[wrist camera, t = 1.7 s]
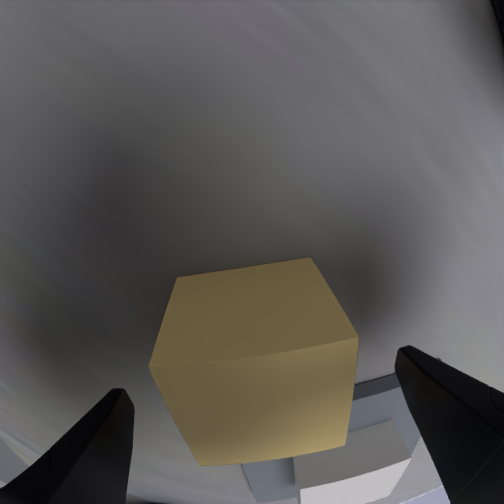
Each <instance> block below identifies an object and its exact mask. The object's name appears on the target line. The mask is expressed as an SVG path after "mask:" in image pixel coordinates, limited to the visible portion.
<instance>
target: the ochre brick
mask: <svg viewBox="0 0 504 504" xmlns="http://www.w3.org/2000/svg"><path fill="white" fill-rule="evenodd" d="M358 344H359V336H358V334H357V332H356V331H355V329H354V327H353V326H352V324H351V322H350V321H349V319H348V317H347V315H346V314H345V312H344V310H343V309H342V307H341V305H340V304H339V302H338V300H337V299H336V297H335V296H334V294H333V292H332V291H331V289H330V287H329V286H328V284H327V282H326V281H325V279H324V278H323V276H322V274H321V273H320V271H319V270H318V268H317V266H316V265H315V263H314V262H313V260H312V258H311V257H309V258H303V259H296V260H290V261H283V262H277V263H270V264H264V265H257V266H250V267H244V268H237V269H230V270H224V271H217V272H210V273H203V274H196V275H189V276H182V277H177V279H176V282H175V285H174V288H173V291H172V294H171V297H170V300H169V303H168V306H167V309H166V312H165V315H164V318H163V321H162V324H161V327H160V330H159V334H158V337H157V340H156V343H155V347H154V350H153V353H152V357H151V360H150V363H149V370H150V372H151V374H152V376H153V378H154V381H155V383H156V385H157V387H158V389H159V391H160V393H161V395H162V397H163V399H164V402H165V404H166V406H167V408H168V409H169V411H170V413H171V415H172V417H173V419H174V421H175V423H176V425H177V427H178V429H179V430H180V432H181V434H182V436H183V438H184V440H185V441H186V443H187V445H188V447H189V448H190V450H191V452H192V454H193V455H194V457H195V459H196V460H197V462H198V464H199V465H200V466H213V465H229V464H241V463H251V462H260V461H268V460H275V459H281V458H288V457H294V456H299V455H304V454H310V453H314V452H319V451H324V450H328V449H332V448H337V447H341V446H345V443H346V437H347V431H348V425H349V419H350V413H351V406H352V399H353V391H354V383H355V374H356V365H357V355H358Z"/></svg>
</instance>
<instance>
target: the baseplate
mask: <svg viewBox="0 0 504 504" xmlns="http://www.w3.org/2000/svg"><path fill="white" fill-rule="evenodd" d="M438 360H440V361H441V359H438ZM392 419H393V420H394V422H395V424H396V426H397V428H398V430H399V432H400V434H401V436H402V438H403V440H404V442H405V444H406V446H407V449H408V451H409V453H410V455H411V454H412V452H413V450H414V448H415V446H416V444H417V442H418V440H419V438H420V436H421V434H420V432H419V430H418V428H417V425H416V423H415V421H414V419H413V417H412V415H411V413H410V411H409V409H408V406H407V403H406V401H405V398H404V395H403V392H402V389H401V387H400V384H399V381H398V378H397V376H396V374H393V375H390V376H386V377H383V378H379V379H376V380H372V381H369V382H365V383H361V384H357V385H354V391H353V399H352V406H351V413H350V419H349V425H348V431H347V433H348V432H352V431H356V430H359V429H363V428H367V427H370V426H373V425H377V424H380V423H383V422H386V421H389V420H392ZM241 464H242V466H243V469H244V472H245V474H246V477H247V479H248V482H249V484H250V487H251V489H252V492H253V494H254V497H255V499H256V501H257V502H266V501H274V500H282V499H288V498H295V497H297V493H296V488H295V480H294V467H293V457H288V458H281V459H275V460H268V461H260V462H251V463H241Z"/></svg>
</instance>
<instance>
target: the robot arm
mask: <svg viewBox="0 0 504 504" xmlns="http://www.w3.org/2000/svg"><path fill="white" fill-rule="evenodd" d="M491 2H492V5H493V8H494V11H495V14H496V17H497V21H498V24H499V28H500V31H501V35H502V39H503V43H504V0H491ZM395 373H396V376H397V378H398V381H399V384H400V387H401V389H402V392H403V395H404V398H405V401H406V403H407V406H408V409H409V411H410V413H411V415H412V417H413V419H414V421H415V423H416V425H417V428H418V430H419V432H420V434H421V436H422V438H423V440H424V443H425V445H426V447H427V449H428V451H429V453H430V456H431V458H432V460H433V462H434V465H435V467H436V469H437V472H438V474H439V476H440V479H441V481H442V483H443V486H444V488H445V491H446V493H447V495H448V498H449V500H450V503H451V504H504V393H503V392H501V391H499V390H497V389H495V388H493V387H489V386H488V385H487V384H485V383H483V382H481V381H479V380H477V379H475V378H473V377H471V376H469V375H467V374H465V373H463V372H461V371H459V370H457V369H455V368H453V367H451V366H449V365H448V364H446V363H444V362H442V361H440V360H438V359H436V358H434V357H432V356H430V355H428V354H426V353H424V352H422V351H420V350H419V349H417V348H415V347H413V346H410V345H408V346H404V347H401V348H399V349H398V351H397V356H396V361H395ZM134 412H135V409H134V405H133V403H132V401H131V399H130V397H129V396H128V394H127V392H126V390H125V389H123V388H114V389H112V390H110V391H109V392H108V393H107V394H106V395H105V396H104V397H103V398H102V399H101V400H100V401H99V402H98V403H97V404H96V405H95V406H94V407H93V408H92V409H91V410H90V411H88V412H87V413H86V414H85V415H84V416H83V417H82V418H81V419H80V420H79V421H78V422H77V423H76V424H75V425H74V426H73V427H72V428H71V429H70V430H69V431H68V432H67V433H66V434H64V435H63V436H62V437H61V438H60V439H59V440H58V441H57V442H56V443H55V444H54V445H53V446H52V447H51V448H50V450H48V451H47V452H46V453H44V454H43V455H42V456H41V457H40V458H39V459H38V460H37V461H36V462H35V463H34V464H32V465H31V466H30V467H29V468H27V469H26V470H25V471H24V472H22V473H21V474H20V475H19V476H17V477H16V478H15V479H13V480H12V481H11V482H9V483H8V484H7V485H5V486H4V487H2V488H1V489H0V504H125V501H126V492H127V484H128V477H129V470H130V463H131V456H132V449H133V430H134Z"/></svg>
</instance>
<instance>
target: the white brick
mask: <svg viewBox="0 0 504 504" xmlns="http://www.w3.org/2000/svg"><path fill="white" fill-rule="evenodd" d="M411 458H412V457H411V455H410V453H409V451H408V449H407V446H406V444H405V442H404V440H403V438H402V436H401V434H400V432H399V430H398V428H397V426H396V424H395V422H394V420H393V419H392V420H389V421H386V422H383V423H380V424H377V425H373V426H370V427H367V428H363V429H359V430H356V431H352V432H348V433H347V437H346V443H345V446H341V447H337V448H332V449H328V450H324V451H319V452H314V453H310V454H304V455H299V456H294V457H293V467H294V480H295V488H296V493H297V499H298V504H365V503H368V502H372V501H375V500H378V499H381V498H384V497H387V496H389V495H390V493H391V492H392V490H393V488H394V487H395V485H396V484H397V482H398V480H399V479H400V477H401V476H402V474H403V472H404V470H405V469H406V467H407V465H408V464H409V462H410V460H411Z"/></svg>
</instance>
